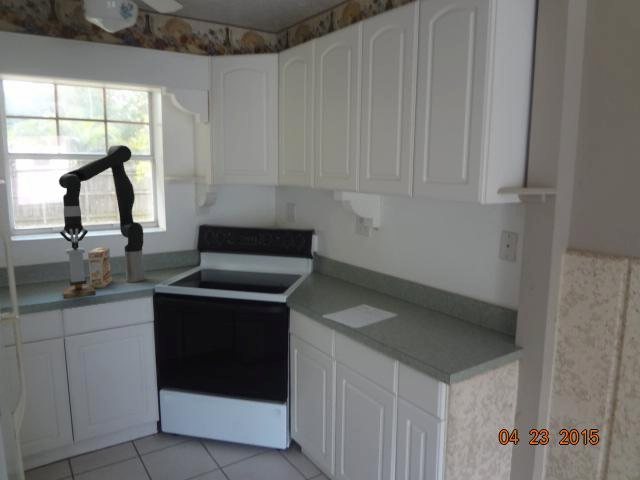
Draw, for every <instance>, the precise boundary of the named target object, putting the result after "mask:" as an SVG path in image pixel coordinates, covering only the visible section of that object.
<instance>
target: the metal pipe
mask: <svg viewBox="0 0 640 480" xmlns="http://www.w3.org/2000/svg"><path fill="white" fill-rule="evenodd" d="M82 286H83V284H81V285H74V287H75V290H82Z"/></svg>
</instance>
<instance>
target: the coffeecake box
mask: <svg viewBox="0 0 640 480" xmlns="http://www.w3.org/2000/svg"><path fill="white" fill-rule="evenodd" d="M110 250H111V249H110V247H109V246H108V247H106V246H105V247H96V248H94V249H92V250H90V251H88V252H87V255H88V265H89V266H88V268H89V269H88V270H89V279H90V281H89V285H93V286H94V289H101V288H103V289H104V288H105V287H106V286H107V285H109V284H110V283H111V282H113V279H112V267H111V255H110V254H111V253H110Z"/></svg>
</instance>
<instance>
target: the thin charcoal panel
mask: <svg viewBox="0 0 640 480" xmlns="http://www.w3.org/2000/svg"><path fill="white" fill-rule="evenodd" d="M81 284H82V285H87V278H86V277H85V281H79V282H71V279H69V285H70V287H73V286H75V285H81Z"/></svg>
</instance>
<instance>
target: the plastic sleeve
mask: <svg viewBox="0 0 640 480" xmlns="http://www.w3.org/2000/svg"><path fill="white" fill-rule="evenodd" d="M65 251H66V255H68V258H69V270H70V280H71V282H79V281H85V278H86V277H85V268H84V265H85V264H84V255H83V254H85V253H86V251H85V247H78V248H77V249H75V250H74V248H72V247H70V248H66V249H65Z"/></svg>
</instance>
